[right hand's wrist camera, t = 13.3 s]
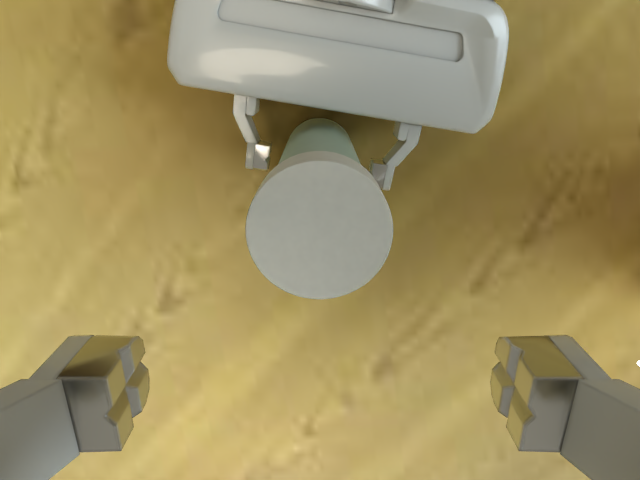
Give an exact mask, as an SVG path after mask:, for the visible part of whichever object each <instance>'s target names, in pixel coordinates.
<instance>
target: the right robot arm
mask: <svg viewBox="0 0 640 480" xmlns="http://www.w3.org/2000/svg"><path fill="white" fill-rule="evenodd" d="M144 354H145V349H144V344H143V340H142V339H141V338H140V337H139V336H105V335H96V336H94V335H74V336H70V337H68V338H67V339H66V340H65V341H64V342H63V343H62V344H61V345H60V346H59V347H58V348H57V349H56V351H55V352H54V353H53V354H52V355H51V356H50V357H49V358H48V359H47V360H46V361H45V362H44V363H43V364H42V365H41V366H40V367H39V369H38V370H37V371H36V372H35V373H34V374H33V375H32V376H31V377H30V378H29V379H21V380H18V381H16V382H14V383H12V384H10V385H8V386H6V387H4V388H2V389H0V480H49V479H50V478H51V477H53V476H54V475H55V474H56V473H57V472H59V471H60V470H61V469H62V468H64V467H65V466H66V465H67V464H69V463H70V462H71V461H72V460H73V459H75V458H76V457H77V456H78V455H80V453H79V452H104V451H121V450H122V448H123V447H124V445H125V443H126V441H127V439H128V437H129V435H130V433H131V431H132V429H133V427H134V425H133V420H132V418H133V417H135V416H136V415H138V414H139V413H141V412H142V410H143V408H144V406H145V404H146V402H147V397H148V393H149V372H148V369H147V368H146V367H145V366H144V365H143V364H142V363H141V362H140V361H141V359H142V357H143V356H144ZM495 354H496V356H497V357H498V359H499V361H500V362H499V363H498V364H497V365H496V366H495V367H494V368H493V369H492V373H491V381H490V383H491V394H492V398H493V401H494V404H495V406H496V408H497V410H498V412H499V413H501V414H502V415H504V416H505V417H507V418H508V420H507V425H506V428H507V429H508V431H509V433H510V435H511V437H512V439H513V441H514V443H515V445H516V446H517V448H518V450H519V451H535V452H561V453H560V454H561V455H562V456H563V457H564V458H566V459H567V460H568V461H569V462H570V463H572V464H573V465H574V466H575V467H577V468H578V469H579V470H580V471H582V472H583V473H584V474H585V475H586V476H588V477H589V478H590V479H591V480H640V389H638V388H636V387H634V386H632V385H630V384H628V383H626V382H624V381H622V380H619V379H611V378H610V377H609V376H608V375H607V374H606V373H605V372H604V371H603V370H602V368H601V367H600V366H599V365H598V364H597V363H596V362H595V361H594V360H593V359H592V358H591V357H590V356H589V355H588V354H587V353H586V351H585V350H584V349H583V348H582V347H581V346H580V345H579V344H578V343H577V342H576V341H575V340H574V339H573V338H572V337H570V336H568V335H549V336H518V337H499V339H498V341H497V343H496V348H495Z"/></svg>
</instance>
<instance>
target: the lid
mask: <svg viewBox="0 0 640 480" xmlns="http://www.w3.org/2000/svg"><path fill="white" fill-rule="evenodd" d="M246 240H247V246H248V249H249V252H250V255H251V257H252V259H253V261H254V263H255V264H256V266H257V267H258V269H259V270H260V271H261V273H262V274H263V275H264V276H265V277H266V278H267V279H268V280H269V281H270V282H271V283H273V284H274V285H276V286H277V287H278V288H280V289H282V290H284V291H286V292H288V293H290V294H293V295H295V296H299V297H303V298H309V299H330V298H335V297H340V296H343V295H346V294H349V293H351V292H353V291H355V290H357V289H359V288H360V287H362V286H363V285H365V284H366V283H367V282H368V281H370V280H371V279H372V278H373V277H374V276H375V275H376V274H377V273H378V271H379V270H380V269H381V267H382V266H383V264H384V262H385V260H386V259H387V257H388V254H389V251H390V249H391V244H392V240H393V220H392V215H391V211H390V208H389V205H388V203H387V201H386V199H385V197H384V195H383V193H382V191H381V189H380V187H379V185H378V183H377V182H376V180H375V179H374V177H373V176H372V175H371V174H370V173H369V171H368V170H367V169H366V168H364V167H363V166H362V165H361V164H359V163H358V162H356V161H355V160H353V159H351V158H349V157H347V156H344V155H341V154H338V153H335V152H328V151H311V152H305V153H301V154H297V155H295V156H292V157H290V158H288V159H286V160H284V161H282V162H281V163H280V164H278V165H277V166H276V167H274V168H273V169H272V170H271V171H270V172H269V173H268V174H267V176H266V177H265V178H264V180H263V181H262V183H261V185H260V186H259V188H258V190H257V192H256V194H255V196H254V198H253V200H252V203H251V205H250V208H249V210H248V214H247V218H246Z"/></svg>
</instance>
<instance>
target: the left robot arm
mask: <svg viewBox="0 0 640 480" xmlns="http://www.w3.org/2000/svg"><path fill="white" fill-rule="evenodd" d="M508 43H509V26H508V21H507V17H506V15H505V13H504V11H503V10H502V8H501V7H500V6H499V5H498V4H497V3H496V2H494V0H175V3H174V8H173V14H172V20H171V27H170V34H169V42H168V53H167V65H168V68H169V70H170V72H171V73H172V75H173V77H174V78H175V80H176V81H177V83H178V84H180V85H182V86H188V87H194V88H200V89H206V90H212V91H218V92H224V93H230V94H234V104H233V115H234V117H235V119H236V122H237V124H238V126H239V128H240V131H241V133H242V135H243V137H244V139H245V142H248V143H247V153H246V163H245V167H246V168H247V169H252V170H253V169H254V170H261V171H268V169H269V165H270V156H269V155H270V153H271V150H272V142H268V141H263V140H261V139H260V136H259V134H258V131H257V129H256V126H255V124H254V121H253V119H252V116H254V115H255V114H256V113H258V112H259V106H260V99H266V100H272V101H278V102H284V103H290V104H295V105H301V106H307V107H313V108H319V109H325V110H331V111H337V112H343V113H349V114H355V115H361V116H367V117H373V118H379V119H385V120H391V121H395V125H394V130H393V135H394V136H395V137H396V138H397V139H398V141H397V142H396V143H395V144H394V146H393V147H392V148H391V149H390V150H389V152H388V153H387V154H386V155H385V156H384V158H383V160H381V159H373V158H371V160H370V165H369V168H370V172H369V173H370V174H371V175H372V176H373V177H374V179H375V180H376V182H377V183H378V185H379V187H380V189H381V190H386V191H389V190H390V187H391V183H392V179H393V174H394V170H395V166H398V165H399V164H400V163H401V162H402V161H403V159H404V158H405V157H406V156H407V155H408V154H409V153H410V152H411V151H412V150H413V148H414V147H415V146H416V145H417V144H418V141H419V137H420V133H421V128H422V126H427V127H433V128H439V129H445V130H451V131H457V132H463V133H470V134H475V133H477V132H478V131H480V130H481V129H482V128H483V127H484V126H485V125H486V124H488V123H489V122H490V120H491V119H492V117H493V114H494V111H495V108H496V105H497V101H498V97H499V93H500V89H501V84H502V79H503V74H504V69H505V64H506V57H507V50H508ZM637 364H638V365H639V366H640V361H638V362H637Z"/></svg>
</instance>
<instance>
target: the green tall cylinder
mask: <svg viewBox="0 0 640 480" xmlns="http://www.w3.org/2000/svg"><path fill="white" fill-rule="evenodd" d="M311 151H328V152H335V153H338V154H341V155H344V156H347V157H349V158H351V159H353V160H355V161H356V162H358V163H359V164H360V161H359V159H358V156H357V154H356V152H355V149H354V147H353V145H352V142H351V140H350V138H349V136H348V134H347V132H346V131H345V130H344V129H343V127H341V126H340V125H339V124H338V123H336V122H334V121H332V120H329V119H325V118H313V119H309V120H307V121H305V122H303V123H301V124H300V125H299V126H297V127H296V128H295V129H294V131H293V132H292V134H291V135H290V137H289V140H288V142H287V144H286V147H285V149H284V152H283V154H282V156H281V159H280V161H279V163H278V164H280V163H281V162H282V161H284V160H286V159H288V158H290V157H292V156H295V155H297V154H301V153H305V152H311Z"/></svg>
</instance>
